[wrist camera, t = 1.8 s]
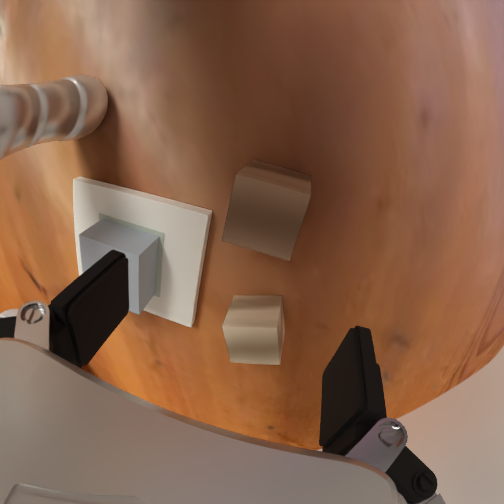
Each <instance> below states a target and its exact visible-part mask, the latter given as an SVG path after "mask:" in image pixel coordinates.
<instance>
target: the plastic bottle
mask: <svg viewBox="0 0 504 504" xmlns="http://www.w3.org/2000/svg"><path fill="white" fill-rule="evenodd" d="M107 107H108V95H107V92H106V89H105V87H104V85H103V84H102V82H101V81H100V80H99V79H97V78H95V77H92V76H88V75H84V74H79V75H73V76H68V77H65V78H62V79H59V80H53V81H48V82H42V83H37V84H19V85H0V160H1V159H3V158H5V157H7V156H8V155H10V154H12V153H15V152H17V151H20V150H22V149H24V148H27V147H30V146H32V145H35V144H40V143H45V142H51V141H69V140H77V139H80V138H82V137H84V136H86V135H88V134H90V133H92V132H93V131H95V130H96V128H97V127H98V126H99V125H100V123H101V122H102V120H103V118H104V116H105V114H106V111H107Z"/></svg>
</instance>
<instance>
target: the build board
mask: <svg viewBox="0 0 504 504" xmlns="http://www.w3.org/2000/svg"><path fill="white" fill-rule="evenodd" d="M73 206H74V226H75V240H76V251H77V260H78V269H79V276H80V275H81V274H83V271H82V262H81V253H80V241H79V234H80V233H82V232H83V231H85V230H86V229H88V228H89V227H91V226H92V225H94V224H95V223H97V222H98V221H100V220H101V219H105V220H108V221H111V222H114V223H117V224H121V225H124V226H127V227H130V228H133V229H137V230H140V231H143V232H146V233H149V234H153V235H156V236H159V246H158V260H157V279H156V293H155V295H154V296H153V297H152V298H151V300H150V301H149V302H148V304H147V305H146V306H145V308H144V309H143V310H144V311H147V312H149V313H152V314H155V315H157V316H160V317H163V318H165V319H168V320H171V321H174V322H176V323H179V324H182V325H185V326H188V327H190V328H191V327H192V325H193V323H194V321H195V315H196V308H197V301H198V294H199V288H200V281H201V275H202V269H203V263H204V257H205V251H206V245H207V239H208V233H209V228H210V222H211V217H212V210H208V209H205V208H201V207H198V206H194V205H190V204H186V203H183V202H179V201H175V200H172V199H168V198H164V197H160V196H156V195H152V194H149V193H145V192H141V191H137V190H133V189H129V188H125V187H121V186H117V185H113V184H109V183H105V182H101V181H97V180H93V179H88V178H84V177H78V178H75V179H73Z"/></svg>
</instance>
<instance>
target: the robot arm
mask: <svg viewBox="0 0 504 504" xmlns="http://www.w3.org/2000/svg"><path fill="white" fill-rule="evenodd" d="M128 311H129V271H128V258H126V255H125V254H124V253H122V252H119V251H116V250H111V251H109V252H108V253H107V254H106V255H104V256H103V257H102V258H101V259H99V260H98V261H97V262H96V263H95V264H93V265H92V266H91V267H90V268H88V269H87V270H86V271H85V272H84V273H83V274H81V275H80V276H79V277H78V278H77V279H76V280H74V281H73V282H72V283H71V284H70V285H69V286H67V287H66V288H65V289H64V290H63V291H62V292H61V293H60V294H58V295H57V296H56V297H55V298H54V299H53V300H52V301H51V304H50V305H49V306H47V305H46V304H45V303H44V302H41V301H30V302H27V303H25V304H24V305H22V306H21V307H20V309H19V310H18V313H17V316H11V317H4V318H0V504H445V502H444V500H443V498H442V496H441V495H440V494H438V495H437V494H436V493H435V491H436V489H437V479H436V476H435V474H434V473H433V472H432V471H431V470H430V469H429V468H428V467H427V466H426V465H425V464H424V463H423V462H422V461H421V460H420V459H419V458H418V457H417V456H416V455H415V454H413V453H412V452H411V451H410V450H409V449H408V448H407V447H406V446H405V445H406V443H407V438H408V436H407V431H406V429H405V427H404V426H403V425H402V424H401V423H400V422H399V421H397V420H396V419H393V418H387V415H386V407H385V399H384V392H383V385H382V378H381V372H380V367H379V365H378V364H377V363H376V358H375V352H374V346H373V341H372V335H371V331H370V329H368V328H364V327H360V326H356V327H355V328H350V330H349V331H348V333H347V335H346V336H345V338H344V340H343V341H342V343H341V345H340V346H339V348H338V350H337V351H336V353H335V354H334V356H333V358H332V359H331V361H330V362H329V364H328V366H327V367H326V369H325V371H324V373H323V378H322V404H321V423H320V438H319V445H320V446H323V450H322V452H321V451H315V450H309V449H304V448H299V447H294V446H289V445H284V444H280V443H275V442H271V441H266V440H262V439H258V438H254V437H250V436H246V435H243V434H239V433H235V432H232V431H228V430H225V429H222V428H219V427H215V426H212V425H209V424H206V423H203V422H200V421H197V420H194V419H191V418H189V417H186V416H183V415H180V414H178V413H175V412H172V411H170V410H167V409H165V408H162V407H160V406H157V405H155V404H153V403H150V402H148V401H145V400H143V399H141V398H139V397H136V396H134V395H132V394H130V393H128V392H125V391H123V390H121V389H119V388H117V387H115V386H113V385H111V384H109V383H107V382H105V381H103V380H101V379H99V378H97V377H95V376H94V375H92V374H90V373H88V372H86V371H84V370H82V369H81V367H82V366H83V365H87V364H88V363H89V361H90V360H91V359H92V358H93V356H94V355H95V354H96V352H97V351H98V350H99V349H100V347H101V346H102V345H103V343H104V342H105V341H106V340H107V338H108V337H109V336H110V335H111V333H112V332H113V331H114V330H115V328H116V327H117V326H118V325H119V323H120V322H121V321H122V320H123V319H124V317H125V316H126V315H127V313H128Z"/></svg>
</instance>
